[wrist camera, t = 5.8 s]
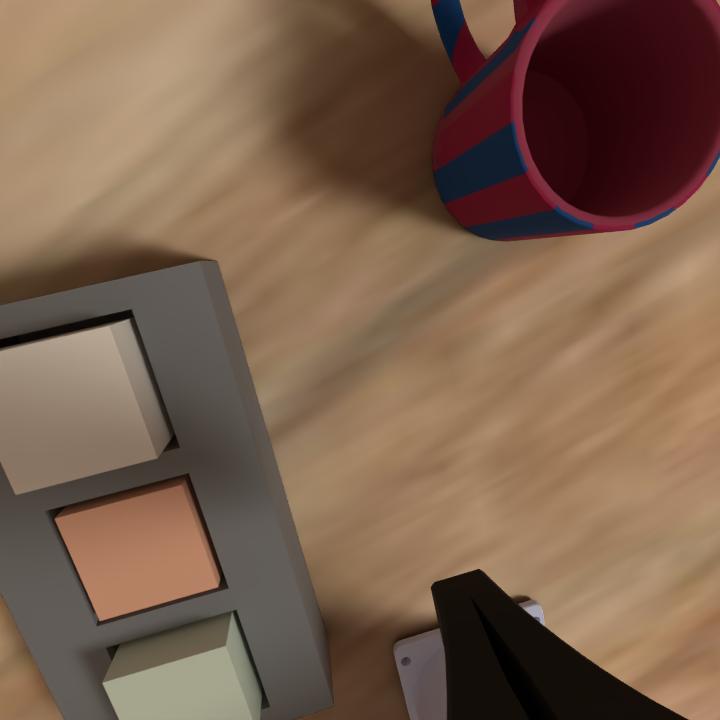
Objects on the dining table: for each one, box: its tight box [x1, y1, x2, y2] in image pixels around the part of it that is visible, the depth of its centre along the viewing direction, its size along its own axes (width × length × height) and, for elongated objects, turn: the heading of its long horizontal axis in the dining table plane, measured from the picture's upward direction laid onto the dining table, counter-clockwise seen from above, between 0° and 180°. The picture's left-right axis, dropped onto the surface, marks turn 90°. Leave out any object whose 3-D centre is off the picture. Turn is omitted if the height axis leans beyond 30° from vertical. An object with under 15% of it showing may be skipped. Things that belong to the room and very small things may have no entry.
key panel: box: [0, 261, 334, 720], centre depth 18 cm, size 19×10×3 cm, turn 13°
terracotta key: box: [55, 473, 222, 621], centre depth 17 cm, size 4×4×2 cm
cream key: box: [0, 317, 175, 495], centre depth 15 cm, size 4×4×2 cm
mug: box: [431, 0, 720, 241], centre depth 15 cm, size 7×10×7 cm
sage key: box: [102, 610, 263, 720], centre depth 17 cm, size 4×4×2 cm
